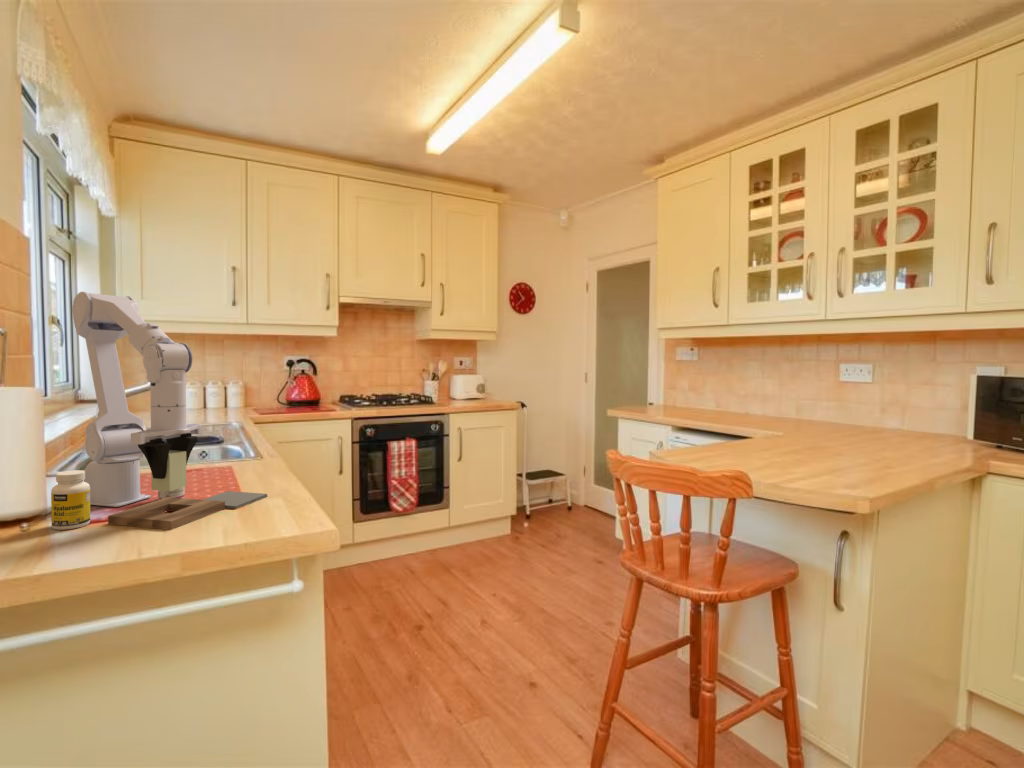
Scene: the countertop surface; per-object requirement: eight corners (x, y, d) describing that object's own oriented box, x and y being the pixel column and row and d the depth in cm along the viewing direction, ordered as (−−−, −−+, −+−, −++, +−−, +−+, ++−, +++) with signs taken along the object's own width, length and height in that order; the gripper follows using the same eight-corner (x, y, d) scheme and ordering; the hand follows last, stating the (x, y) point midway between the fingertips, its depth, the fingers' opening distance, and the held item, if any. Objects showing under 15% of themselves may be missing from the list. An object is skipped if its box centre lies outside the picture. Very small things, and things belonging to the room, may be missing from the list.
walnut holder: (108, 523, 96) (108, 515, 96) (168, 504, 109) (168, 497, 109) (171, 529, 93) (171, 521, 93) (225, 508, 106) (225, 501, 106)
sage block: (151, 489, 99) (151, 453, 99) (168, 485, 103) (168, 450, 103) (169, 491, 98) (169, 454, 98) (186, 486, 102) (186, 451, 102)
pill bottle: (189, 497, 115) (189, 459, 114) (173, 503, 110) (173, 463, 109) (169, 496, 115) (169, 458, 115) (152, 501, 110) (152, 462, 110)
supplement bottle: (47, 532, 91) (45, 476, 90) (57, 523, 95) (55, 470, 95) (86, 528, 93) (85, 474, 93) (94, 519, 98) (93, 468, 97)
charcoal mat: (193, 505, 108) (193, 502, 108) (227, 493, 118) (227, 491, 118) (236, 509, 106) (236, 506, 106) (267, 496, 116) (267, 493, 116)
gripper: (154, 410, 92) (155, 485, 93) (214, 403, 106) (215, 469, 107) (120, 408, 93) (121, 483, 94) (184, 402, 108) (185, 467, 108)
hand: (169, 475), depth 101 cm, fingers closed on sage block, 4 cm apart
